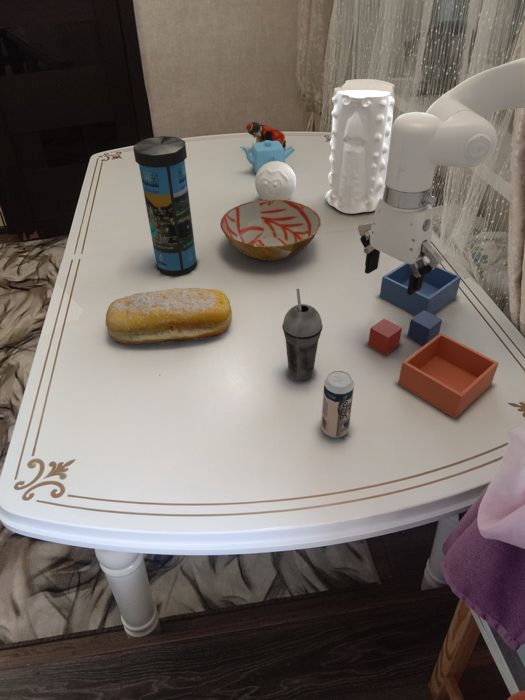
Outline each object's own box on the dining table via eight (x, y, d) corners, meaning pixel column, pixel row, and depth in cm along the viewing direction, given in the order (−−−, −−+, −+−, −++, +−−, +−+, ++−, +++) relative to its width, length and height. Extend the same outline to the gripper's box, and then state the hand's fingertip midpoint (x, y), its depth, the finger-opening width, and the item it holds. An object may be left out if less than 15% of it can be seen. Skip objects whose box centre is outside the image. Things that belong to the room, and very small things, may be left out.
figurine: (269, 156, 199) (234, 141, 191) (279, 130, 196) (244, 114, 188) (280, 162, 192) (245, 148, 184) (291, 135, 189) (256, 120, 180)
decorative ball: (250, 208, 159) (248, 168, 151) (262, 191, 168) (261, 152, 160) (290, 213, 156) (290, 172, 148) (300, 195, 165) (300, 156, 157)
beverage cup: (327, 375, 105) (333, 289, 92) (297, 391, 102) (299, 304, 89) (304, 355, 109) (307, 270, 96) (274, 369, 106) (273, 284, 93)
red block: (381, 335, 114) (384, 318, 111) (399, 345, 111) (402, 327, 108) (367, 344, 111) (370, 327, 108) (385, 355, 109) (388, 337, 106)
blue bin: (411, 276, 130) (414, 256, 126) (456, 297, 123) (461, 276, 120) (379, 297, 124) (382, 276, 120) (424, 320, 117) (429, 299, 113)
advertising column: (150, 259, 139) (129, 140, 119) (193, 250, 142) (179, 133, 122) (159, 281, 131) (138, 158, 111) (204, 272, 134) (191, 150, 114)
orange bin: (435, 354, 109) (440, 332, 105) (491, 384, 102) (498, 362, 98) (398, 383, 103) (402, 362, 99) (455, 418, 96) (461, 396, 92)
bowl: (303, 220, 152) (303, 193, 147) (333, 267, 134) (335, 238, 129) (214, 233, 148) (212, 206, 143) (233, 282, 130) (230, 253, 125)
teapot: (289, 162, 185) (289, 131, 178) (300, 178, 174) (301, 147, 168) (237, 167, 182) (235, 137, 175) (245, 184, 172) (244, 153, 165)
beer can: (344, 442, 92) (350, 392, 84) (317, 435, 93) (321, 385, 86) (351, 422, 96) (357, 372, 88) (325, 415, 97) (329, 365, 89)
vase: (390, 195, 163) (405, 80, 142) (375, 219, 152) (390, 98, 131) (335, 187, 169) (343, 75, 148) (318, 209, 158) (323, 91, 137)
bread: (235, 341, 113) (233, 311, 108) (106, 355, 111) (97, 325, 105) (229, 304, 123) (227, 274, 118) (111, 316, 121) (103, 286, 116)
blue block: (420, 326, 115) (423, 309, 112) (438, 336, 113) (442, 319, 110) (407, 336, 113) (410, 319, 110) (425, 346, 110) (429, 329, 108)
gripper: (465, 203, 87) (443, 292, 98) (378, 172, 97) (367, 256, 108) (438, 219, 83) (418, 309, 94) (351, 185, 93) (342, 270, 104)
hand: (391, 281), depth 101 cm, fingers open, 9 cm apart
